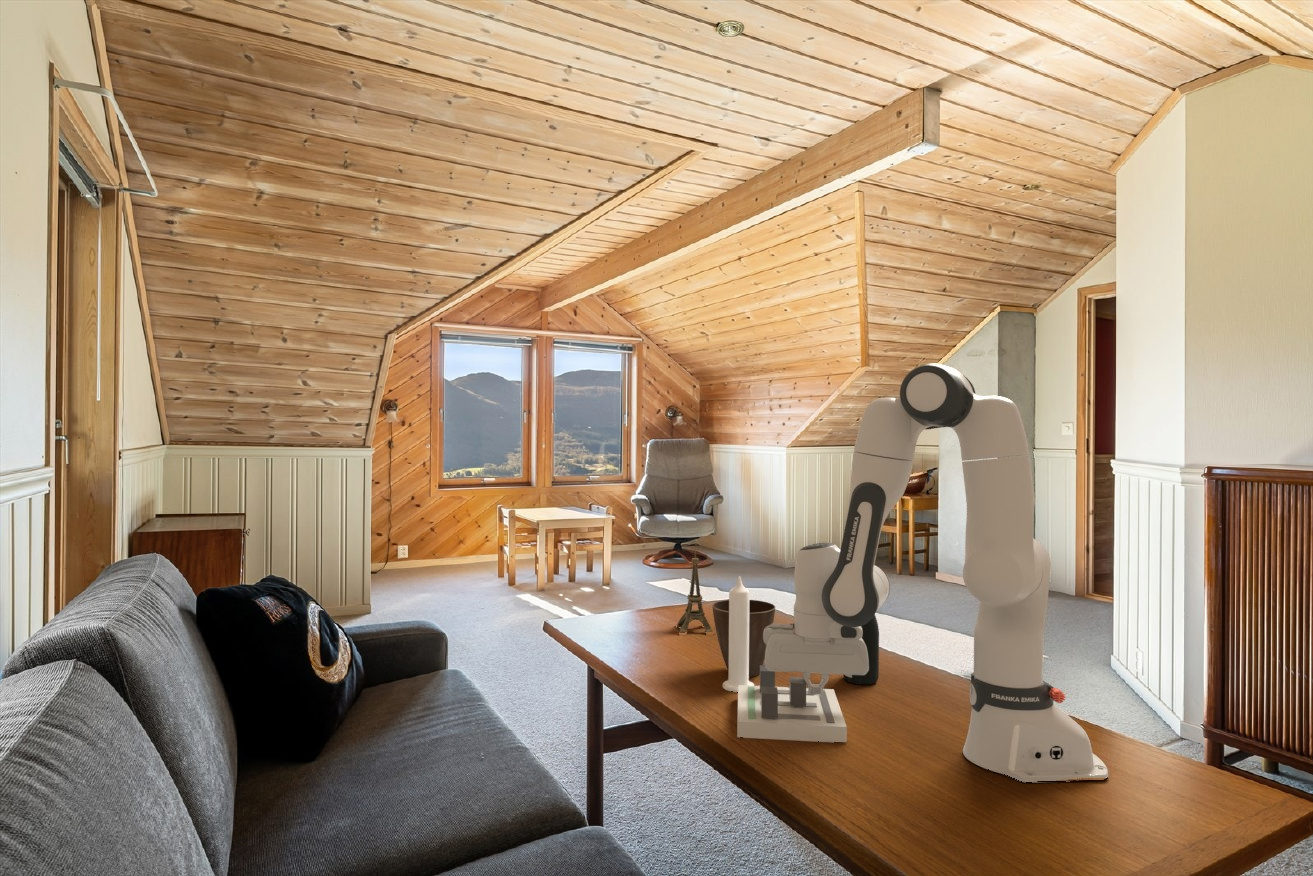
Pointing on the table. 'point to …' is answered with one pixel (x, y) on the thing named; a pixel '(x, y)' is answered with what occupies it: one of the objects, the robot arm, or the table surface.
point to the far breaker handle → (766, 677)
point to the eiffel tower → (692, 598)
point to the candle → (738, 638)
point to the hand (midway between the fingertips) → (815, 694)
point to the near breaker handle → (769, 702)
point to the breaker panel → (791, 717)
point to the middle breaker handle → (797, 691)
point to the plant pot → (758, 620)
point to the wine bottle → (869, 654)
